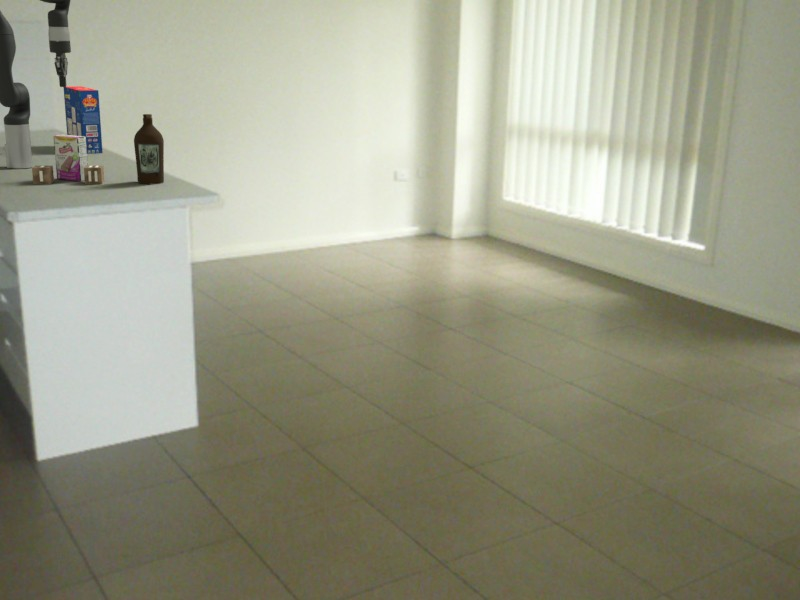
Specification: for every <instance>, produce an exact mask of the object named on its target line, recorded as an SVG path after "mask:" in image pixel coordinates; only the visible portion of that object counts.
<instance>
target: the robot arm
mask: <svg viewBox="0 0 800 600" xmlns="http://www.w3.org/2000/svg"><path fill="white" fill-rule="evenodd" d="M39 1H41V2H43V3H47V4H55V5H54V9H52V10H49V11H48V12H47V24H48V29H47V30H48V35H47V36H48V45H49V52H50V53H52V54H54V53H55V57H54V66H55V71H56V75H57V77H58V80H59V81H58V83H59V87H60V88H64V87H67V76H68V68H69V67H68V65H69V62H68V58H67V56H66V54H71V52H72V50H71V49H72V48H71V35H70V33H71V32H70V29H69V20H68V16H69V10H70V5H71V0H39ZM4 15H5V14H3V12H2V11H1V10H0V105H2V106H3V107H5V108H9V110H8V113H7V114H6V115H5V116H4V117H3V128H4V135H5V136H4V137H5V143H4V152H5V153H4V154H5V161H6V162H5V163H6V169H29V168H33V167H34V163H33V162H34V161H33V154H32V142H31V131H30V117H31V99H30V98H31V97H30V92H29V89H28V87H27V86H26V85H25V84H24V83H22V82H14V78H13V69H12V68H13V63H14V59H15V55H16V51H17V45H16V39H15V32H14V30H13V27H12V26H11V24H10V22H9V21H8V20H7V18H6V17H5V16H4Z"/></svg>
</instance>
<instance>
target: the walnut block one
mask: <svg viewBox="0 0 800 600" xmlns="http://www.w3.org/2000/svg"><path fill="white" fill-rule="evenodd" d="M31 173H32V184H33V185H52V184H53V183H54V182H55V179H54V178H55V177H54V176H55V174H54V166H53V165H33V167H31ZM51 183H52V184H51Z"/></svg>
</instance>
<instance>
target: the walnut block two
mask: <svg viewBox="0 0 800 600" xmlns="http://www.w3.org/2000/svg"><path fill="white" fill-rule="evenodd" d="M104 169H105V168H104V165H88V166H86V167H84V177H85V181H84V185H103V184H104V182H105V171H104Z"/></svg>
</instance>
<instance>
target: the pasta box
mask: <svg viewBox="0 0 800 600" xmlns="http://www.w3.org/2000/svg"><path fill="white" fill-rule="evenodd" d="M63 100H64V110H65V122H66V125H65V126H66V135H74V136H85V137H86V147H87V155H90V154H91V155H94V154H103V152H104V151H103V141H102V140H103V139H102V138H103V137H102V125H101V111H100V108H101V107H100V95H99V90H98V89H94V88H90V87H85V86H66V87H63Z"/></svg>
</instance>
